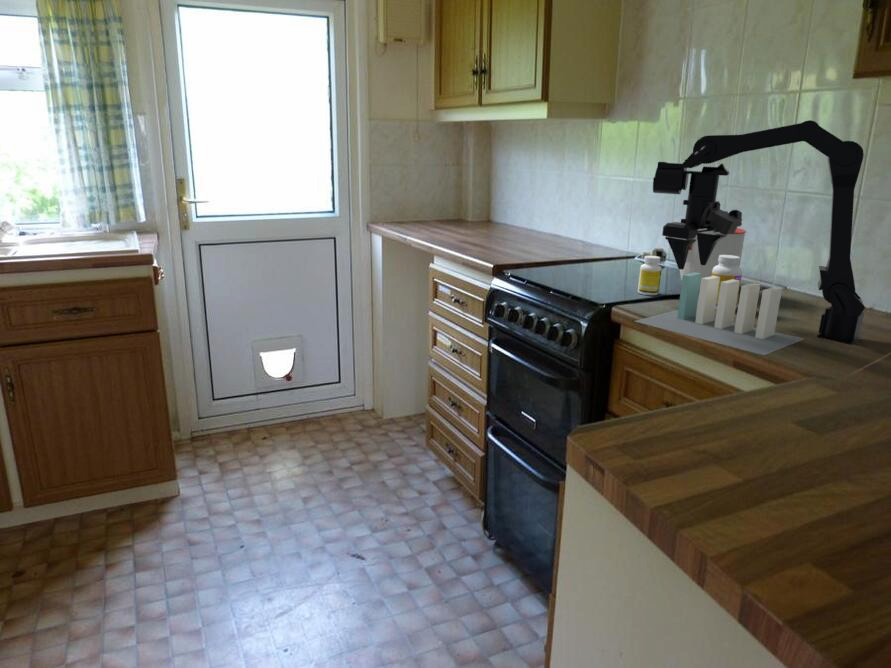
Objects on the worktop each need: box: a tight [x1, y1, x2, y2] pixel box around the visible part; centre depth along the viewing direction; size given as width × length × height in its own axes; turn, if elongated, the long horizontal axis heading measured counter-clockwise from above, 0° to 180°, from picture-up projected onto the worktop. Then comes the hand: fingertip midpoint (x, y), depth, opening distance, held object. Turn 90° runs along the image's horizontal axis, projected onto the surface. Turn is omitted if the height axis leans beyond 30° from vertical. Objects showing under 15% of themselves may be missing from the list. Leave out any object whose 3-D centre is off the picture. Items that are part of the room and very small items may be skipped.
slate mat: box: [633, 309, 805, 356], centre depth 141 cm, size 29×18×1 cm, turn 40°
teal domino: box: [677, 273, 701, 320], centre depth 149 cm, size 2×5×10 cm, turn 129°
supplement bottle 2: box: [712, 255, 743, 311], centre depth 158 cm, size 7×7×13 cm
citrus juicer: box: [679, 227, 747, 292], centre depth 176 cm, size 16×17×20 cm
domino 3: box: [734, 282, 761, 334], centre depth 139 cm, size 2×5×10 cm, turn 130°
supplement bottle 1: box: [637, 255, 663, 296], centre depth 173 cm, size 5×5×10 cm
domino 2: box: [714, 279, 741, 329], centre depth 142 cm, size 2×5×10 cm, turn 130°
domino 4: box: [755, 286, 783, 339], centre depth 136 cm, size 2×5×10 cm, turn 130°
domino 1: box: [695, 276, 720, 324], centre depth 145 cm, size 2×5×10 cm, turn 130°
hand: (692, 267), depth 147 cm, fingers open, 9 cm apart
